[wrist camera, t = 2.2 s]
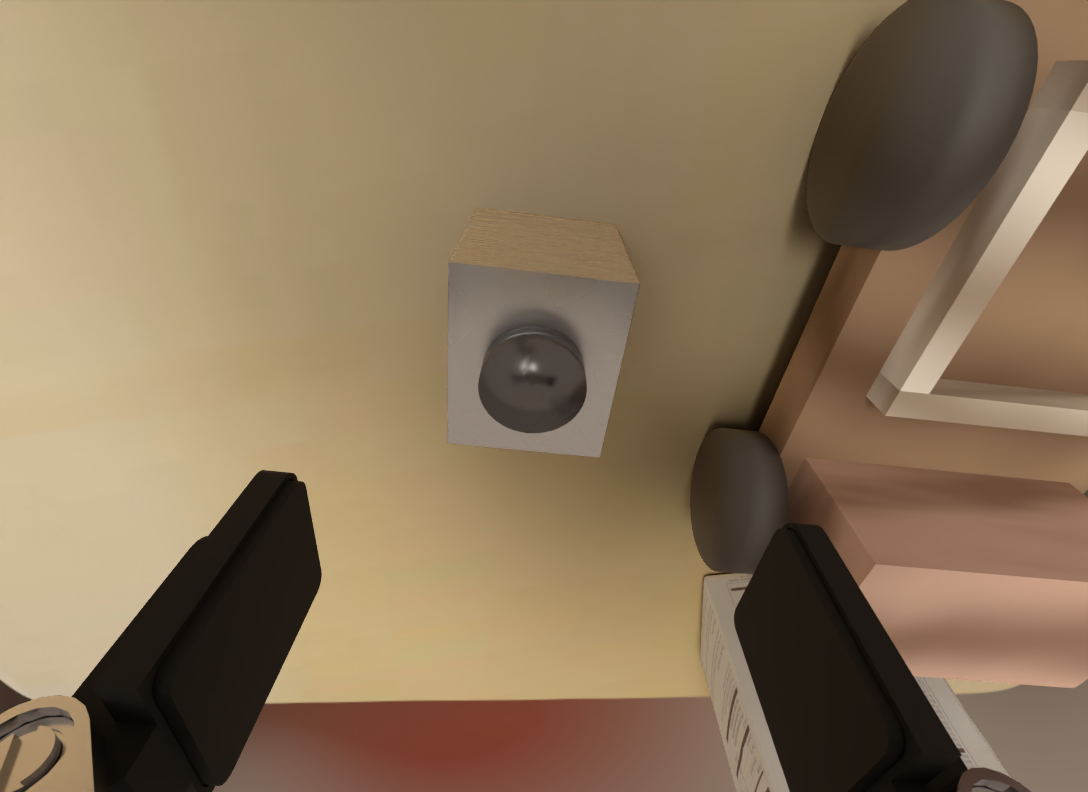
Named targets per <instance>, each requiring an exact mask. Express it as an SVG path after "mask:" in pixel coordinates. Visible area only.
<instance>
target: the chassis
mask: <svg viewBox="0 0 1088 792" xmlns="http://www.w3.org/2000/svg"><path fill="white" fill-rule="evenodd" d="M806 198H807V209H808V214H809V218H810V221H811V224H812V226H813V228H814V230H815V231H816V233H817V234H818V235H819V236H820V237H821V238H822V239H823V240H824V241H826V242H829V243H831V244H836V245H842V246H841V248H840V250H839V252H838V255H837V257H836V259H835V261H834V264H833V266H832V268H831V270H830V273H829V275H828V277H827V279H826V282H825V284H824V286H823V288H822V290H821V293H820V295H819V297H818V299H817V302H816V304H815V306H814V308H813V311H812V313H811V315H810V317H809V320H808V322H807V324H806V326H805V329H804V331H803V333H802V335H801V338H800V340H799V342H798V344H797V347H796V349H795V351H794V353H793V356H792V358H791V360H790V362H789V365H788V367H787V369H786V371H785V374H784V376H783V378H782V380H781V383H780V385H779V387H778V389H777V392H776V394H775V396H774V398H773V401H772V403H771V405H770V407H769V410H768V412H767V414H766V416H765V419H764V421H763V423H762V425H761V428H760V430H759V432H758V431H749V430H739V429H729V428H717V429H714V430H713V431H711V432H710V433H709V434H708V435H707V437H706V438H705V440H704V441H703V443H702V445H701V447H700V449H699V452H698V455H697V458H696V461H695V465H694V470H693V475H692V482H691V495H690V509H691V522H692V529H693V534H694V538H695V542H696V545H697V548H698V551H699V553H700V555H701V557H702V559H703V561H704V562H705V563H706V565H707V566H708V567H709V568H710V569H712V570H714V571H718V572H730V573H742V574H754V572H755V570H756V568H757V566H758V564H759V562H760V560H761V558H762V556H763V554H764V552H765V550H766V548H767V546H768V544H769V542H770V540H771V538H772V536H773V535H774V533H775V531H776V530H777V529H782V528H783V527H784V525H785V524H787V523H788V522H789V523H801V524H811V525H818V526H820V527H822V528H823V530H824V531H825V532H826V534H827V536H828V537H829V539H830V540H831V542H832V544H833V545H834V547H835V549H836V550H837V552H838V554H839V555H840V557H841V558H842V560H843V562H844V563H845V565H846V567H847V568H848V570H849V571H850V573H851V575H852V576H853V578H854V580H855V581H856V583H857V585H858V586H859V588H860V589H861V591H862V593H863V594H864V596H865V598H866V599H867V601H868V603H869V604H870V606H871V607H872V609H873V611H874V612H875V614H876V616H877V617H878V619H879V621H880V622H881V624H882V625H883V627H884V629H885V630H886V632H887V634H888V635H889V637H890V639H891V640H892V642H893V643H894V645H895V647H896V648H897V650H898V652H899V653H900V655H901V657H902V658H903V660H904V661H905V663H906V665H907V666H908V668H909V670H910V671H911V673H912V675H913V676H915V677H929V678H943V679H957V680H970V681H984V682H998V683H1012V684H1026V685H1027V684H1028V685H1039V686H1054V687H1068V688H1075V687H1077V686H1078V685H1080V684H1081V683H1082V682H1084V681H1085V680H1086V679H1088V0H909V1H907V2H906V3H904V4H903V5H901V6H900V7H899V8H897V9H896V10H895V11H894V12H893V13H891V14H890V15H889V16H888V17H887V18H886V19H885V20H884V21H883V22H882V23H881V24H880V25H879V26H878V27H877V28H876V29H875V30H874V32H873V33H872V34H871V35H870V36H869V38H868V39H867V40H866V41H865V43H864V44H863V45H862V47H861V48H860V49H859V51H858V52H857V53H856V55H855V56H854V58H853V59H852V61H851V63H850V64H849V66H848V67H847V69H846V71H845V72H844V74H843V76H842V77H841V79H840V81H839V83H838V85H837V87H836V89H835V91H834V93H833V95H832V97H831V99H830V101H829V103H828V106H827V108H826V110H825V113H824V115H823V118H822V120H821V123H820V126H819V129H818V132H817V135H816V138H815V142H814V145H813V149H812V153H811V158H810V162H809V168H808V175H807V188H806Z"/></svg>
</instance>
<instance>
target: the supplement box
mask: <svg viewBox="0 0 1088 792" xmlns="http://www.w3.org/2000/svg"><path fill="white" fill-rule="evenodd" d="M752 576H753V574H742V573H733V574H721V575H710V576H706V577H705V578H704V589H703V610H702V630H701V650H700V659H701V663H702V666H703V670H704V673H705V677H706V681H707V684H708V688H709V692H710V695H711V699H712V703H713V706H714V710H715V713H716V717H717V721H718V725H719V728H720V732H721V736H722V739H723V743H724V747H725V750H726V754H727V758H728V762H729V765H730V769H731V773H732V776H733V780H734V784H735V787H736V791H737V792H790V791H789V788H788V785H787V782H786V779H785V776H784V773H783V770H782V767H781V764H780V761H779V758H778V755H777V752H776V749H775V746H774V743H773V740H772V737H771V734H770V731H769V728H768V725H767V722H766V719H765V716H764V713H763V710H762V707H761V704H760V701H759V698H758V695H757V692H756V689H755V686H754V683H753V680H752V677H751V674H750V671H749V668H748V665H747V662H746V659H745V656H744V653H743V650H742V647H741V644H740V641H739V638H738V635H737V632H736V629H735V626H734V612H735V609H736V607H737V605H738V603H739V601H740V599H741V597H742V595H743V593H744V591H745V589H746V587H747V585H748V583H749V581H750V579H751V578H752ZM914 678H915V679H916V681H917V683H918V684H919V686H920V688H921V689H922V691H923V693H924V694H925V696H926V697H927V699H928V701H929V702H930V704H931V706H932V707H933V709H934V711H935V712H936V714H937V715H938V717H939V719H940V720H941V722H942V724H943V725H944V727H945V729H946V730H947V732H948V733H949V735H950V737H951V738H952V740H953V742H954V743H955V745H956V747H957V748H958V750H959V751H960V753H961V755H962V756H960V757H961V759H962V761H963V762H964V764H965V765H966V767H967V769H968V770H969V769H970V768H981V767H985V768H988V769H992V770H995V771H998V772H1001V773H1003V774H1005V775H1007V776H1009V775H1008V774H1007V772H1006V771H1005V769H1004V768H1003V766H1002V765H1001V763H1000V762H999V760H998V758H997V757H996V755H995V753H994V752H993V750H992V749H991V747H990V746H989V744H988V743H987V741H986V740H985V738H984V737H983V735H982V734H981V733H980V731H979V730H978V728H977V727H976V726H975V724H974V723H973V721H972V720H971V718H970V717H969V716H968V714H967V713H966V711H965V710H964V708H963V706H962V705H961V703H960V702H959V700H958V699H957V697H956V696H955V694H954V692H953V691H952V689H951V688H950V686H949V684H948V683H947V681H946V680H945V679H943V678H929V677H915V676H914Z"/></svg>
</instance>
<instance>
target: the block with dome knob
mask: <svg viewBox="0 0 1088 792" xmlns="http://www.w3.org/2000/svg"><path fill="white" fill-rule="evenodd" d="M639 285H640V283H639V281H638V278H637V276H636V274H635V271H634V269H633V266H632V264H631V262H630V259H629V257H628V255H627V252H626V250H625V247H624V245H623V243H622V240H621V238H620V236H619V233H618V231H617V229H616V226H615V225H614V224H606V223H598V222H590V221H581V220H573V219H565V218H556V217H548V216H540V215H532V214H523V213H515V212H507V211H499V210H490V209H482V208H477V209H476V210H475V212H474V214H473V216H472V218H471V220H470V222H469V224H468V226H467V228H466V230H465V232H464V233H463V235H462V237H461V239H460V241H459V243H458V245H457V247H456V249H455V251H454V253H453V255H452V256H451V258H450V260H449V279H448V393H447V443H449V444H460V445H471V446H481V447H492V448H502V449H513V450H524V451H534V452H545V453H556V454H566V455H577V456H587V457H598V458H600V454H601V450H602V446H603V441H604V437H605V433H606V428H607V424H608V420H609V415H610V411H611V407H612V402H613V398H614V394H615V389H616V385H617V381H618V376H619V372H620V368H621V363H622V359H623V355H624V350H625V346H626V342H627V337H628V333H629V329H630V324H631V320H632V316H633V311H634V307H635V303H636V298H637V294H638V290H639Z"/></svg>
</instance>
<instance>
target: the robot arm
mask: <svg viewBox="0 0 1088 792" xmlns="http://www.w3.org/2000/svg"><path fill="white" fill-rule="evenodd" d="M321 575H322V574H321V567H320V561H319V556H318V550H317V545H316V539H315V534H314V528H313V523H312V518H311V512H310V507H309V501H308V496H307V490H306V486H305V483H304V482H300V481H298V480H297V477H296V475H295V474H294V473H286V472H276V471H266V470H262V471H260V472H258V473H257V474H256V475H255V477H254V478H253V479H252V480H251V482H250V483H249V484H248V486H247V487H246V488H245V489H244V491H243V492H242V493H241V495H240V496H239V497H238V498H237V500H236V501H235V502H234V504H233V505H232V506H231V507H230V509H229V510H228V511H227V513H226V514H225V515H224V516H223V518H222V519H221V520H220V522H219V523H218V524H217V525H216V527H215V528H214V529H213V530H212V532H211V533H210V534H209V536H205V537H203V538H201V539H200V540H198V541H197V542H196V543H195V544H194V545H193V546H192V547H191V548H190V549H189V550H188V552H187V553H186V554H185V555H184V557H183V558H182V559H181V560H180V562H179V563H178V564H177V565H176V567H175V568H174V569H173V570H172V572H171V573H170V574H169V575H168V577H167V578H166V579H165V580H164V582H163V583H162V584H161V585H160V587H159V588H158V589H157V590H156V592H155V593H154V594H153V595H152V597H151V598H150V599H149V600H148V602H147V603H146V604H145V605H144V607H143V608H142V609H141V610H140V612H139V613H138V614H137V615H136V617H135V618H134V619H133V621H132V622H131V623H130V624H129V626H128V627H127V628H126V629H125V631H124V632H123V633H122V634H121V636H120V637H119V638H118V639H117V641H116V642H115V643H114V644H113V646H112V647H111V648H110V649H109V651H108V652H107V653H106V654H105V656H104V657H103V658H102V659H101V661H100V662H99V663H98V664H97V666H96V667H95V668H94V669H93V671H92V672H91V673H90V674H89V676H88V677H87V678H86V679H85V681H84V682H83V683H82V684H81V686H80V687H79V688H78V690H77V691H76V692H75V693H74V695H73V696H72V697H68V696H62V695H55V696H48V697H40V698H37V699H34V700H31V701H28V702H25V703H23V704H20V705H17V706H15V707H13V708H11V709H9V710H8V711H6V712H4V713H2V714H0V792H212V791H213V789H214V787H215V785H216V786H220V785H223V784H224V783H225V782H226V781H227V779H228V778H229V776H230V775H231V773H232V771H233V769H234V767H235V765H236V763H237V761H238V759H239V756H240V754H241V752H242V750H243V748H244V746H245V743H246V742H247V740H248V737H249V735H250V733H251V731H252V729H253V727H254V725H255V723H256V721H257V718H258V716H259V714H260V712H261V710H262V708H263V706H264V704H265V702H266V699H267V697H268V695H269V693H270V691H271V689H272V687H273V685H274V683H275V680H276V678H277V676H278V674H279V672H280V670H281V668H282V666H283V664H284V661H285V659H286V657H287V655H288V653H289V651H290V649H291V647H292V645H293V642H294V640H295V638H296V636H297V634H298V632H299V630H300V628H301V626H302V623H303V621H304V619H305V617H306V615H307V613H308V611H309V609H310V607H311V604H312V602H313V600H314V598H315V596H316V594H317V592H318V589H319V586H320V582H321ZM734 626H735V629H736V632H737V635H738V638H739V641H740V644H741V647H742V650H743V653H744V656H745V659H746V662H747V665H748V668H749V671H750V674H751V677H752V680H753V683H754V686H755V689H756V692H757V695H758V698H759V701H760V704H761V707H762V710H763V713H764V716H765V719H766V722H767V725H768V728H769V731H770V734H771V737H772V740H773V743H774V746H775V749H776V752H777V755H778V758H779V761H780V764H781V767H782V770H783V773H784V776H785V779H786V782H787V785H788V788H789V791H790V792H1031V791H1030V790H1029V789H1027V788H1026V787H1025V786H1023V785H1022V784H1021V783H1019V782H1018V781H1016V780H1014V779H1012V778H1010V777H1009V776H1007V775H1005V774H1003V773H1001V772H998V771H995V770H992V769H988V768H985V767H981V768H970V769H969V770H968V769H967V767H966V765H965V764H964V762H963V761H962V759H961V757H960V756H962V755H961V753H960V751H959V750H958V748H957V747H956V745H955V743H954V742H953V740H952V738H951V737H950V735H949V733H948V732H947V730H946V729H945V727H944V725H943V724H942V722H941V720H940V719H939V717H938V715H937V714H936V712H935V711H934V709H933V707H932V706H931V704H930V702H929V701H928V699H927V697H926V696H925V694H924V693H923V691H922V689H921V688H920V686H919V684H918V683H917V681H916V679H915V678H914V676H913V675H912V673H911V671H910V670H909V668H908V666H907V665H906V663H905V661H904V660H903V658H902V657H901V655H900V653H899V652H898V650H897V648H896V647H895V645H894V643H893V642H892V640H891V639H890V637H889V635H888V634H887V632H886V630H885V629H884V627H883V625H882V624H881V622H880V621H879V619H878V617H877V616H876V614H875V612H874V611H873V609H872V607H871V606H870V604H869V603H868V601H867V599H866V598H865V596H864V594H863V593H862V591H861V589H860V588H859V586H858V585H857V583H856V581H855V580H854V578H853V576H852V575H851V573H850V571H849V570H848V568H847V567H846V565H845V563H844V562H843V560H842V558H841V557H840V555H839V554H838V552H837V550H836V549H835V547H834V545H833V544H832V542H831V540H830V539H829V537H828V536H827V534H826V532H825V531H824V530H823V528H822V527H820V526H818V525H811V524H801V523H789V522H788V523H787V524H785V525H784V527H783V528H782V529H777V530H776V531H775V533H774V535H773V536H772V538H771V540H770V542H769V544H768V546H767V548H766V550H765V552H764V554H763V556H762V558H761V560H760V562H759V564H758V566H757V568H756V570H755V572H754V574H753V576H752V578H751V579H750V581H749V583H748V585H747V587H746V589H745V591H744V593H743V595H742V597H741V599H740V601H739V603H738V605H737V607H736V609H735V612H734Z"/></svg>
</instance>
